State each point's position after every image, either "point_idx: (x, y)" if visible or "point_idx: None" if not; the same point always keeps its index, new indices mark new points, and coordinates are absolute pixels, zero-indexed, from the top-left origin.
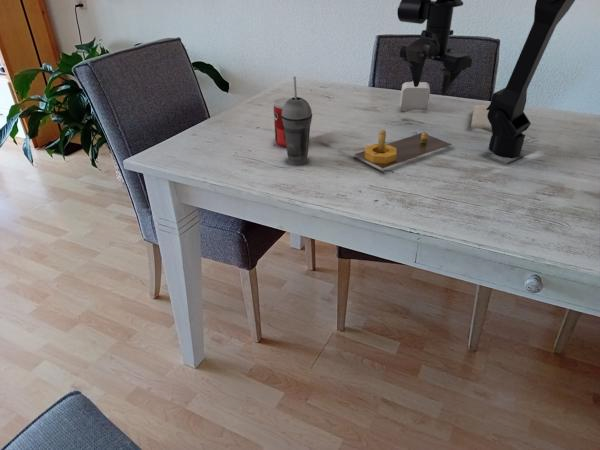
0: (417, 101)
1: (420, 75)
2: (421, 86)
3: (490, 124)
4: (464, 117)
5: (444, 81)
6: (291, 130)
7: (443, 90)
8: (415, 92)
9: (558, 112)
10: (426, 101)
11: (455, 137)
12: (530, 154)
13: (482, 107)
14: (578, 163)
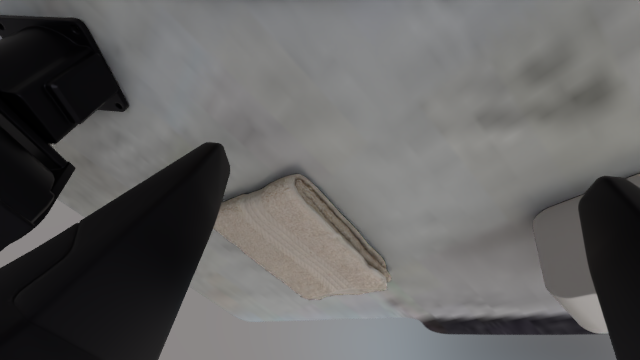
0: None
1: (620, 332)
2: None
3: (254, 208)
4: (390, 235)
5: (89, 241)
6: None
7: (175, 166)
8: None
9: (280, 316)
10: (546, 245)
11: (283, 90)
12: (87, 136)
13: (360, 280)
14: None
